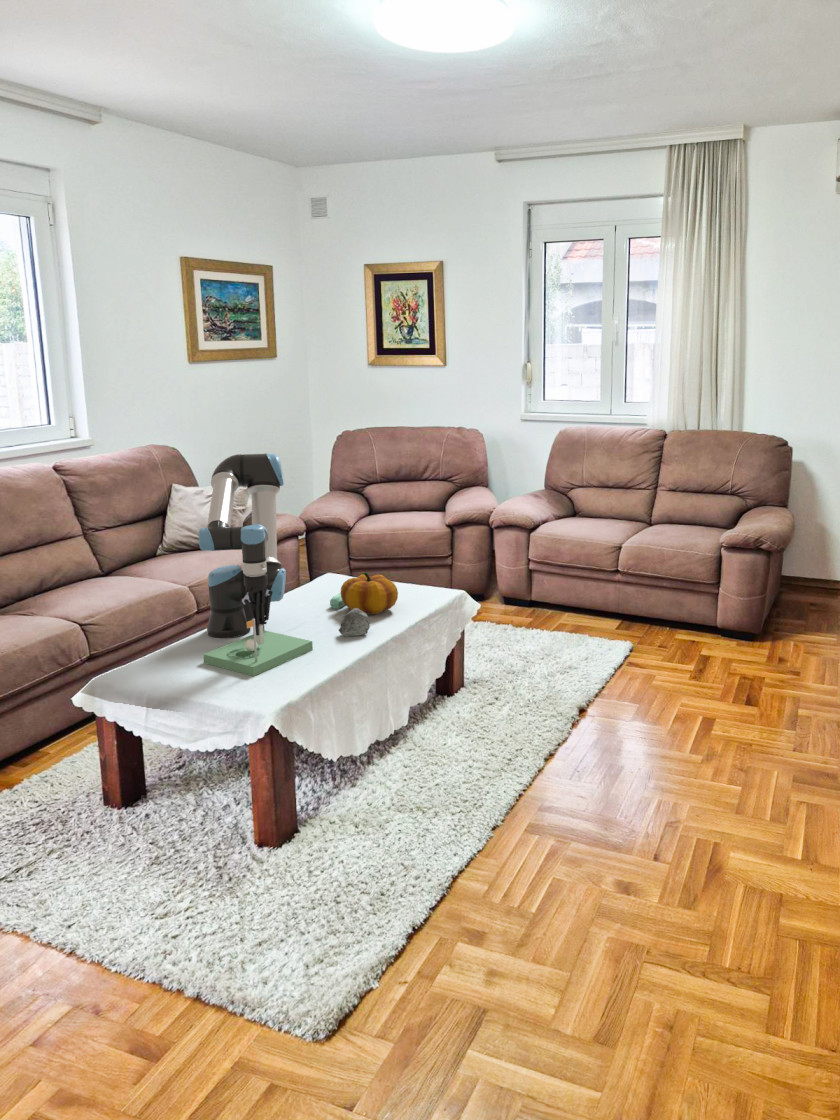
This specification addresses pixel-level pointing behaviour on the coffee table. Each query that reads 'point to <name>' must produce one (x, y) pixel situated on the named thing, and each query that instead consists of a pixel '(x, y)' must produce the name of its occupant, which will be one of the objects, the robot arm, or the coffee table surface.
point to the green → (258, 652)
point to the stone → (354, 623)
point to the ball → (250, 645)
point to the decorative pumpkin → (369, 593)
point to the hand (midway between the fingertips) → (259, 643)
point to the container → (336, 602)
